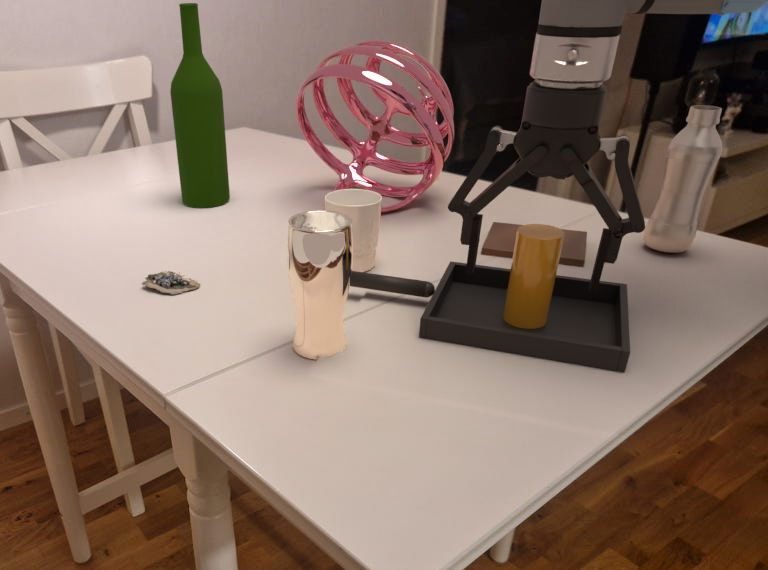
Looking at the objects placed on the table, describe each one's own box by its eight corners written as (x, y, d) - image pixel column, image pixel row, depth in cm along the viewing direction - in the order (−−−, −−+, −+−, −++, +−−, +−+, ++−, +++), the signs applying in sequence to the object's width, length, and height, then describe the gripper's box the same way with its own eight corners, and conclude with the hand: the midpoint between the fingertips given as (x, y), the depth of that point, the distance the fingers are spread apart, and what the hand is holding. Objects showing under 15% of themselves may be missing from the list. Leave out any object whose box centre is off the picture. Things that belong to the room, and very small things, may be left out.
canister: (548, 313, 80) (565, 226, 74) (544, 332, 76) (563, 241, 70) (505, 307, 82) (519, 221, 76) (500, 324, 78) (514, 236, 72)
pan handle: (435, 294, 83) (437, 280, 82) (432, 301, 81) (433, 286, 80) (345, 281, 87) (345, 267, 86) (340, 287, 85) (340, 273, 84)
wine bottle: (238, 196, 125) (226, 1, 108) (212, 210, 118) (195, 5, 101) (199, 191, 128) (182, 1, 111) (172, 204, 121) (149, 5, 105)
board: (585, 240, 101) (587, 231, 100) (582, 270, 92) (584, 260, 91) (492, 230, 106) (493, 221, 105) (480, 257, 97) (481, 247, 96)
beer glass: (301, 328, 79) (300, 206, 71) (357, 337, 77) (362, 212, 69) (280, 356, 74) (275, 227, 66) (339, 367, 71) (342, 235, 64)
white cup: (348, 280, 91) (350, 209, 85) (313, 263, 96) (313, 196, 91) (390, 266, 95) (394, 198, 89) (353, 250, 100) (356, 185, 95)
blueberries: (153, 273, 94) (151, 261, 93) (207, 276, 93) (206, 263, 92) (136, 293, 88) (134, 280, 88) (193, 296, 87) (192, 283, 86)
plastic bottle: (653, 238, 101) (691, 101, 91) (698, 250, 97) (744, 107, 87) (631, 248, 98) (668, 107, 88) (677, 261, 94) (722, 114, 83)
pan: (621, 305, 82) (627, 283, 81) (623, 376, 68) (630, 351, 67) (447, 281, 90) (450, 261, 88) (418, 341, 76) (420, 318, 74)
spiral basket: (345, 115, 91) (436, -18, 97) (231, 135, 112) (312, 25, 119) (436, 247, 107) (508, 126, 114) (321, 243, 129) (388, 141, 135)
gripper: (434, 81, 66) (416, 275, 77) (716, 95, 58) (650, 310, 69) (448, 71, 72) (429, 252, 83) (706, 82, 64) (647, 282, 75)
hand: (529, 279), depth 76 cm, fingers open, 13 cm apart
